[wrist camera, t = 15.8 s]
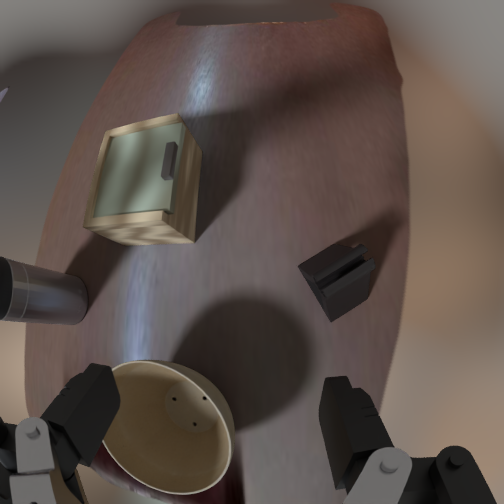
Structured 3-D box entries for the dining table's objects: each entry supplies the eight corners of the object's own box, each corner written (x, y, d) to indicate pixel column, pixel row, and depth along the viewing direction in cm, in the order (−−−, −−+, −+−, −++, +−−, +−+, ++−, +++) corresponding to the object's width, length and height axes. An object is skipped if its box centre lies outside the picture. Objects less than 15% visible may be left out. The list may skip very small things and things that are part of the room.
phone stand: (297, 266, 39) (295, 245, 28) (334, 244, 39) (346, 215, 27) (330, 322, 37) (342, 326, 25) (366, 299, 37) (393, 292, 25)
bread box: (124, 245, 45) (80, 225, 34) (137, 162, 48) (103, 129, 37) (198, 242, 42) (163, 218, 31) (205, 151, 46) (180, 109, 35)
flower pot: (157, 330, 41) (110, 333, 29) (269, 379, 36) (255, 405, 25) (130, 423, 38) (85, 445, 26) (227, 473, 34) (203, 515, 22)
